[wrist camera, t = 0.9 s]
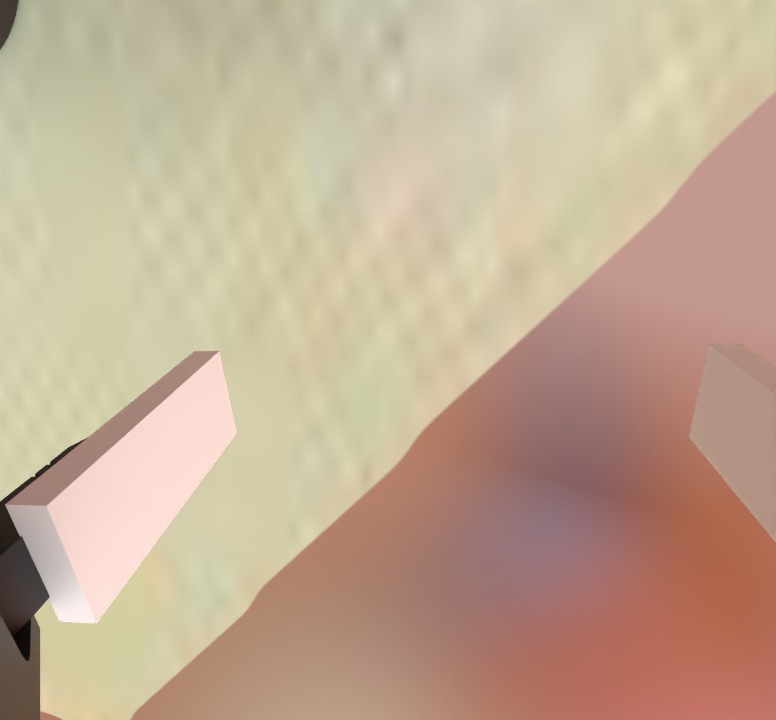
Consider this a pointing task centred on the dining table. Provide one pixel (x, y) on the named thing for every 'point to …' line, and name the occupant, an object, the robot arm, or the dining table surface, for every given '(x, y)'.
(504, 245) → the dining table surface
